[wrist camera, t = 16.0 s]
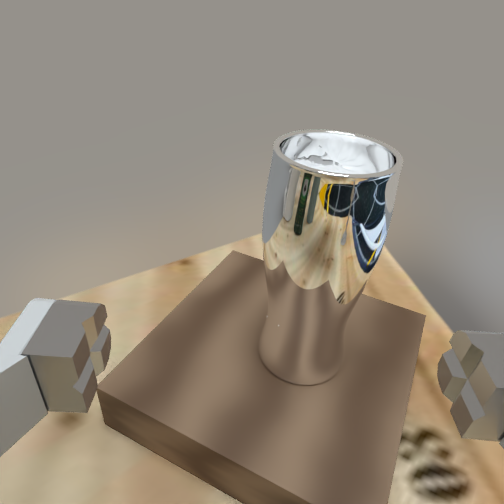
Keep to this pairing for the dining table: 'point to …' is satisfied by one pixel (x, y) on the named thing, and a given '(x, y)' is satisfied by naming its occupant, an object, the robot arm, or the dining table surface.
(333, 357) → the beer glass
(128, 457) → the dining table surface
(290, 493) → the walnut base
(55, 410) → the robot arm
